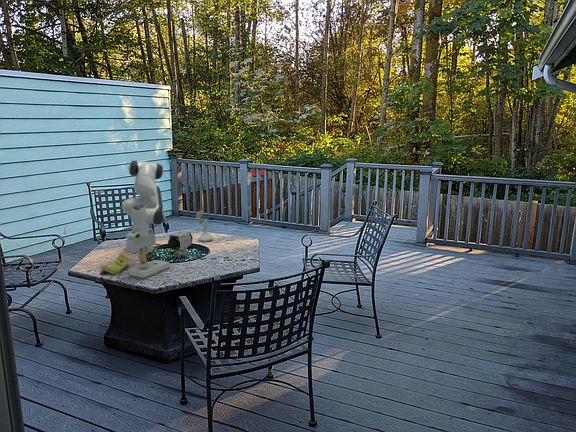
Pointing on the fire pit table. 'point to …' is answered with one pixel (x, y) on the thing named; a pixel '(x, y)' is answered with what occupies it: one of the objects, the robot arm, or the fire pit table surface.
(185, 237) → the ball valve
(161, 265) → the fitting block
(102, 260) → the fire pit table surface
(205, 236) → the flower in vase
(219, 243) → the fire pit table surface
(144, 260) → the brown cylinder
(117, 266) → the plastic component
